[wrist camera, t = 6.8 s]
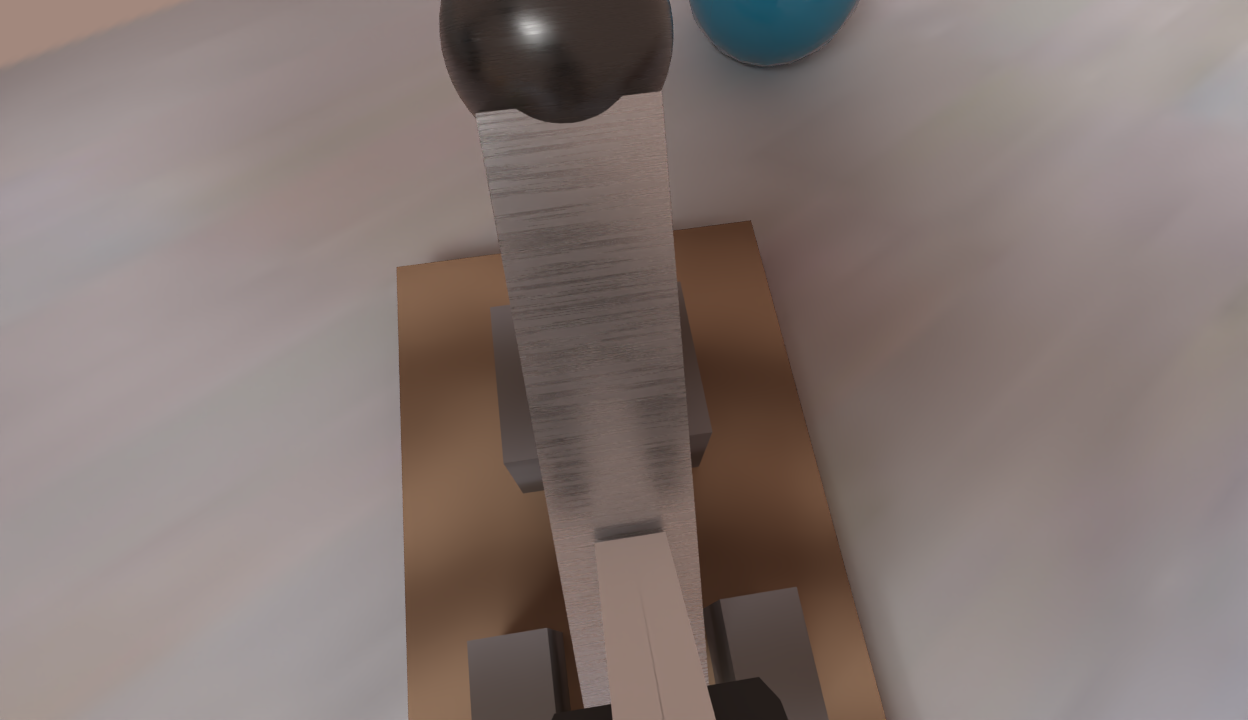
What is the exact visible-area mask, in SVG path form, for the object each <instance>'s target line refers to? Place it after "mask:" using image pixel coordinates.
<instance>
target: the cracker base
mask: <svg viewBox="0 0 1248 720" xmlns="http://www.w3.org/2000/svg"><path fill="white" fill-rule="evenodd" d="M673 238H674V250H675V263H676V276H677V288H678V301H679V314H680V326H681V339H682V351H683V364H684V377H685V389H686V402H687V415H688V427H689V440H690V452H691V465H692V478H693V490H694V503H695V516H696V528H697V541H698V553H699V566H700V579H701V591H702V604H703V617H704V629H705V642H706V655H707V667H708V680H709V685H714V684H720V683H726V682H731V681H737V680H743V679H749V678H755V677H760V678H761V679H762V680H763V682H764V683H765V684H766V685H767V686H768V687H769V688H770V689H771V690H772V691H773V692H774V693H775V694H776V695H777V697H778V698H779V699H780V700H781V702H782V705H783V707H784V710H785V713H786V715H787V718H788V720H886V717H885V714H884V710H883V706H882V703H881V699H880V695H879V691H878V688H877V684H876V680H875V677H874V673H873V669H872V666H871V662H870V658H869V655H868V651H867V647H866V643H865V640H864V636H863V632H862V629H861V625H860V621H859V618H858V614H857V610H856V607H855V603H854V599H853V596H852V592H851V588H850V584H849V581H848V577H847V573H846V570H845V566H844V562H843V559H842V555H841V551H840V548H839V544H838V540H837V537H836V533H835V529H834V525H833V522H832V518H831V514H830V511H829V507H828V503H827V500H826V496H825V492H824V489H823V485H822V481H821V477H820V474H819V470H818V466H817V463H816V459H815V455H814V452H813V448H812V444H811V441H810V437H809V433H808V430H807V426H806V422H805V418H804V415H803V411H802V407H801V404H800V400H799V396H798V393H797V389H796V385H795V382H794V378H793V374H792V371H791V367H790V363H789V359H788V356H787V352H786V348H785V345H784V341H783V337H782V334H781V330H780V326H779V323H778V319H777V315H776V312H775V308H774V304H773V300H772V297H771V293H770V289H769V286H768V282H767V278H766V275H765V271H764V267H763V264H762V260H761V256H760V252H759V249H758V245H757V241H756V238H755V234H754V230H753V227H752V223H751V221H743V222H735V223H728V224H720V225H713V226H705V227H698V228H690V229H682V230H675V231H673ZM397 298H398V337H399V375H400V413H401V451H402V489H403V528H404V566H405V604H406V642H407V680H408V719H409V720H552V718H553V715H554V714H555V713H561V712H566V711H572V710H578V709H584V704H583V699H582V693H581V688H580V682H579V677H578V672H577V666H576V661H575V655H574V650H573V644H572V639H571V633H570V628H569V622H568V617H567V612H566V606H565V601H564V595H563V590H562V584H561V579H560V573H559V568H558V562H557V557H556V551H555V546H554V541H553V535H552V530H551V524H550V519H549V513H548V508H547V502H546V497H545V491H544V486H543V481H542V475H541V470H540V464H539V459H538V453H537V448H536V442H535V437H534V431H533V426H532V421H531V415H530V410H529V404H528V399H527V393H526V388H525V382H524V377H523V371H522V366H521V360H520V355H519V350H518V344H517V339H516V333H515V328H514V322H513V317H512V311H511V306H510V300H509V295H508V290H507V284H506V279H505V273H504V268H503V262H502V257H501V253H500V254H493V255H485V256H478V257H470V258H463V259H455V260H447V261H440V262H432V263H425V264H417V265H410V266H402V267H397Z"/></svg>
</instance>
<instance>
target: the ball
mask: <svg viewBox="0 0 1248 720" xmlns="http://www.w3.org/2000/svg"><path fill="white" fill-rule="evenodd" d="M859 1H860V0H689V2H690V6H691V10H692V14H693V17H694V20H695V21H696V23H697V25H698V27H699V29H700V30H701V31H702V32H703V33H704V34H705V36H706V37H707V38H708V39H709V40H710V41H711V42H712V44H713V45H714V46H715V47H716V48H717V49H718V50H720V51H721V52H722V53H724V54H726V55H728V56H730V57H732V58H733V59H735V60H737V61H739V62H741V63H746V64H752V65H757V66H763V67H768V66H777V65H786V64H790V63H793V62H795V61H797V60H800V59H802V58H804V57H806V56H808V55H810V54H812V53H814V52H816V51H818V50H820V49H821V48H822V47H824V46H825V45H826V44H827V43H829V42H830V41H831V39H832V38H833V37H834V36H835V35H836V33H837V32H838V31H839V30H840V29H841V28H842V26H843V25H844V24H845V23H846V21H847V20H848V19H849V18H850V16H851V15H852V14H853V12H854V11H855V9H856V7H857V5H858V3H859Z"/></svg>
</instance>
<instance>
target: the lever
mask: <svg viewBox="0 0 1248 720" xmlns="http://www.w3.org/2000/svg"><path fill="white" fill-rule="evenodd" d="M439 26H440V40H441V48H442V53H443V57H444V61H445V65H446V68H447V71H448V73H449V76H450V78H451V81H452V83H453V85H454V87H455V89H456V91H457V93H458V95H459V96H460V98H461V100H462V101H463V102H464V104H465V105H466V107H467V108H468V110H469V111H470V112H471V113H472V114H473V116H474V117H475V118H476V120H477V126H478V131H479V137H480V142H481V148H482V153H483V159H484V164H485V169H486V175H487V180H488V186H489V191H490V197H491V202H492V208H493V213H494V219H495V224H496V229H497V235H498V240H499V246H500V251H501V257H502V262H503V268H504V273H505V279H506V284H507V290H508V295H509V300H510V306H511V311H512V317H513V322H514V328H515V333H516V339H517V344H518V350H519V355H520V360H521V366H522V371H523V377H524V382H525V388H526V393H527V399H528V404H529V410H530V415H531V421H532V426H533V431H534V437H535V442H536V448H537V453H538V459H539V464H540V470H541V475H542V481H543V486H544V491H545V497H546V502H547V508H548V513H549V519H550V524H551V530H552V535H553V541H554V546H555V551H556V557H557V562H558V568H559V573H560V579H561V584H562V590H563V595H564V601H565V606H566V612H567V617H568V622H569V628H570V633H571V639H572V644H573V650H574V655H575V661H576V666H577V672H578V677H579V682H580V688H581V693H582V699H583V704H584V708H590V707H596V706H602V705H607V704H611V699H610V689H609V679H608V669H607V660H606V650H605V640H604V631H603V621H602V611H601V601H600V592H599V582H598V572H597V563H596V553H595V543H597V542H604V541H610V540H616V539H623V538H629V537H636V536H642V535H648V534H655V533H661V532H666V536H667V539H668V543H669V547H670V550H671V554H672V558H673V562H674V565H675V569H676V573H677V577H678V580H679V584H680V588H681V591H682V595H683V599H684V603H685V606H686V610H687V614H688V618H689V621H690V625H691V629H692V632H693V636H694V640H695V644H696V647H697V651H698V655H699V659H700V662H701V666H702V670H703V673H704V677H705V681H706V685H707V686H708V685H709V680H708V667H707V655H706V642H705V629H704V617H703V604H702V591H701V579H700V566H699V553H698V541H697V528H696V516H695V503H694V490H693V478H692V465H691V452H690V440H689V427H688V415H687V402H686V389H685V377H684V364H683V351H682V339H681V326H680V314H679V301H678V288H677V276H676V263H675V250H674V238H673V225H672V213H671V200H670V187H669V175H668V162H667V149H666V137H665V124H664V111H663V99H662V91H661V90H662V88H663V85H664V82H665V80H666V77H667V74H668V70H669V66H670V62H671V57H672V48H673V19H672V12H671V6H670V2H669V0H441V6H440V15H439Z"/></svg>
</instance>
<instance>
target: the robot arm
mask: <svg viewBox="0 0 1248 720" xmlns="http://www.w3.org/2000/svg"><path fill="white" fill-rule="evenodd" d="M595 553H596V563H597V572H598V582H599V592H600V601H601V611H602V621H603V631H604V640H605V650H606V660H607V669H608V679H609V689H610V699H611V704H607V705H602V706H596V707H590V708H584V709H578V710H572V711H566V712H561V713H555V714H554V715H553V718H552V720H788V718H787V715H786V713H785V710H784V707H783V705H782V702H781V700H780V699H779V698H778V697H777V695H776V694H775V693H774V692H773V691H772V690H771V689H770V688H769V687H768V686H767V685H766V684H765V683H764V682H763V680H762V679H761V678H760V677H755V678H749V679H743V680H737V681H731V682H726V683H720V684H714V685H708V686H707V685H706V681H705V677H704V673H703V670H702V666H701V662H700V659H699V655H698V651H697V647H696V644H695V640H694V636H693V632H692V629H691V625H690V621H689V618H688V614H687V610H686V606H685V603H684V599H683V595H682V591H681V588H680V584H679V580H678V577H677V573H676V569H675V565H674V562H673V558H672V554H671V550H670V547H669V543H668V539H667V536H666V532H661V533H655V534H648V535H642V536H636V537H629V538H623V539H616V540H610V541H604V542H597V543H595Z"/></svg>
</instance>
